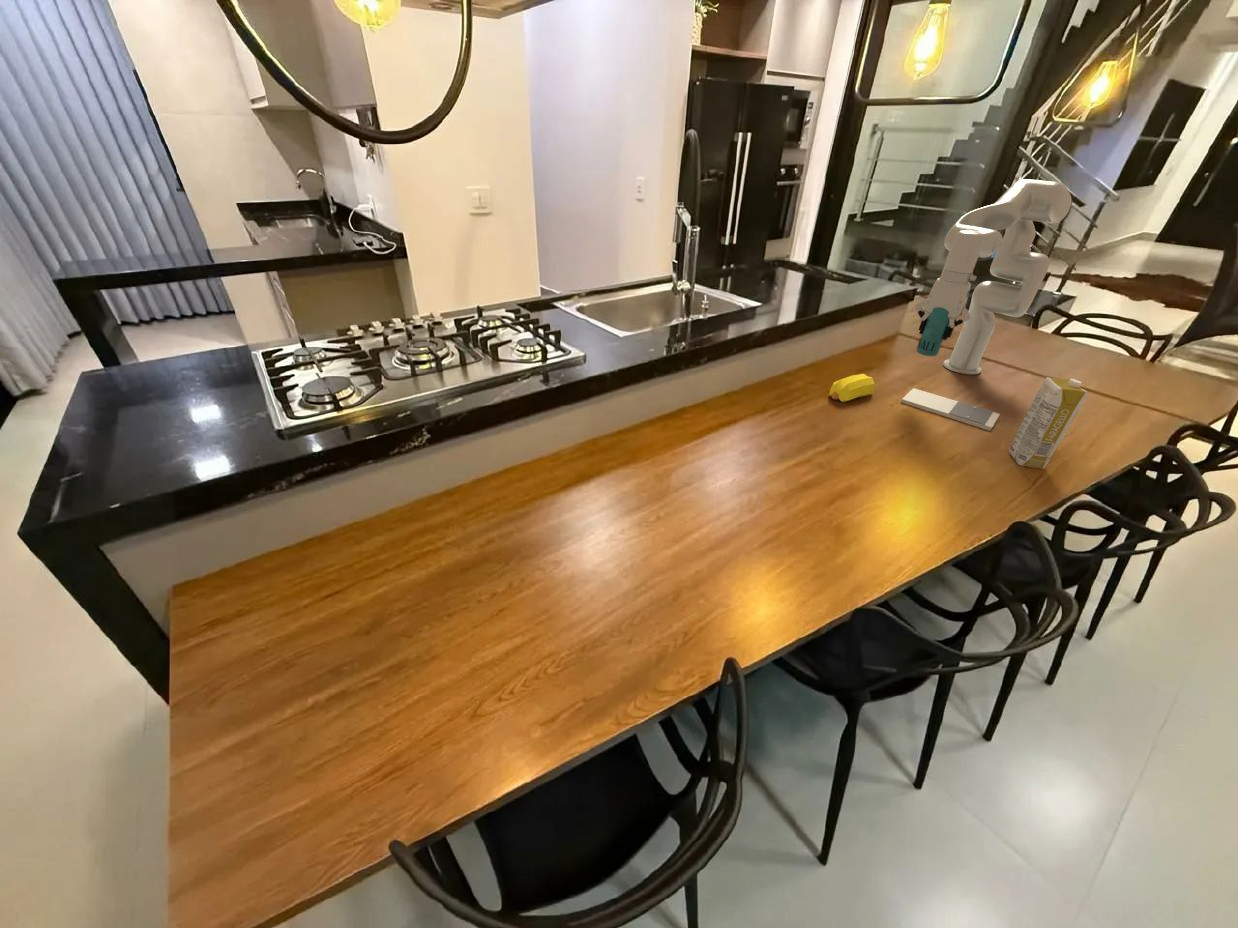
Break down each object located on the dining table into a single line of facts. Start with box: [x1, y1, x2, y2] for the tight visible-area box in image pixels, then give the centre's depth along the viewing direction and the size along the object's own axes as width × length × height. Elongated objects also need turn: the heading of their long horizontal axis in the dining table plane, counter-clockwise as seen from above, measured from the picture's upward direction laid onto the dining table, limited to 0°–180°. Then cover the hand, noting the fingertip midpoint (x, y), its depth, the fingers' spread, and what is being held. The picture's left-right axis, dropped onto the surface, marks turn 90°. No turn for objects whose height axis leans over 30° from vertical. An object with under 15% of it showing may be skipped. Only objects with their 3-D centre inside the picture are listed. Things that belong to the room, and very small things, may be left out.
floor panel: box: [900, 387, 1001, 431], centre depth 172 cm, size 12×26×2 cm, turn 49°
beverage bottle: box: [916, 307, 950, 357], centre depth 166 cm, size 6×7×20 cm
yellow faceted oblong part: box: [829, 373, 876, 403], centre depth 176 cm, size 18×7×8 cm
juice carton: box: [1008, 376, 1089, 469], centre depth 141 cm, size 9×8×24 cm
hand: (933, 335), depth 167 cm, fingers closed on beverage bottle, 6 cm apart
